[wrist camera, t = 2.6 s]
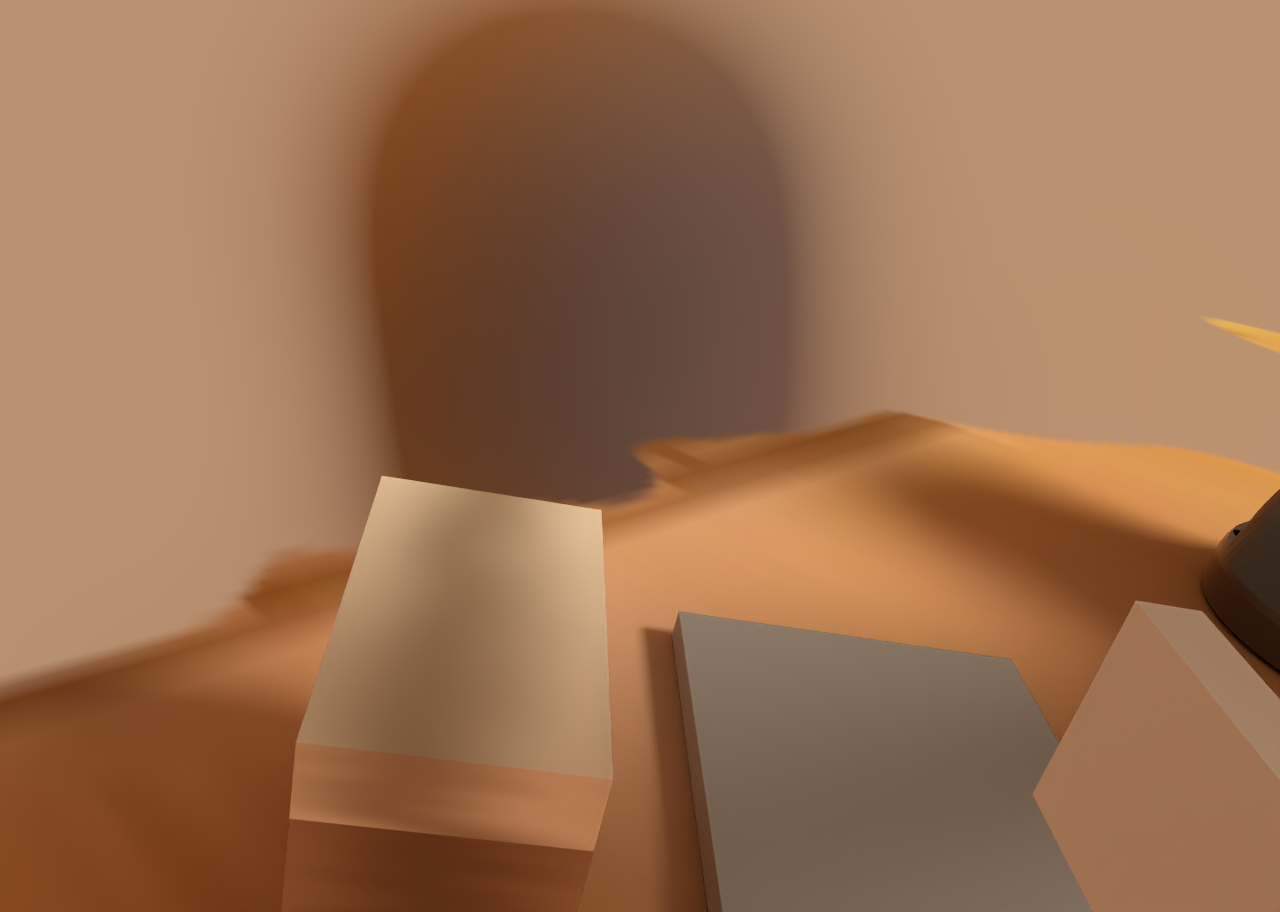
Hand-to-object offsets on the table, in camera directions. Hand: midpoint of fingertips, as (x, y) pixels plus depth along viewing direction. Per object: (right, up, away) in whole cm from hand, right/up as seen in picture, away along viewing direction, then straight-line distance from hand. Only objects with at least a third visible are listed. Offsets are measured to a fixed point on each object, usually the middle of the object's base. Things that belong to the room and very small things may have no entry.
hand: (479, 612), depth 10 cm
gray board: (+10, -11, +24) cm, 29 cm away
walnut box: (-4, -11, +19) cm, 22 cm away
